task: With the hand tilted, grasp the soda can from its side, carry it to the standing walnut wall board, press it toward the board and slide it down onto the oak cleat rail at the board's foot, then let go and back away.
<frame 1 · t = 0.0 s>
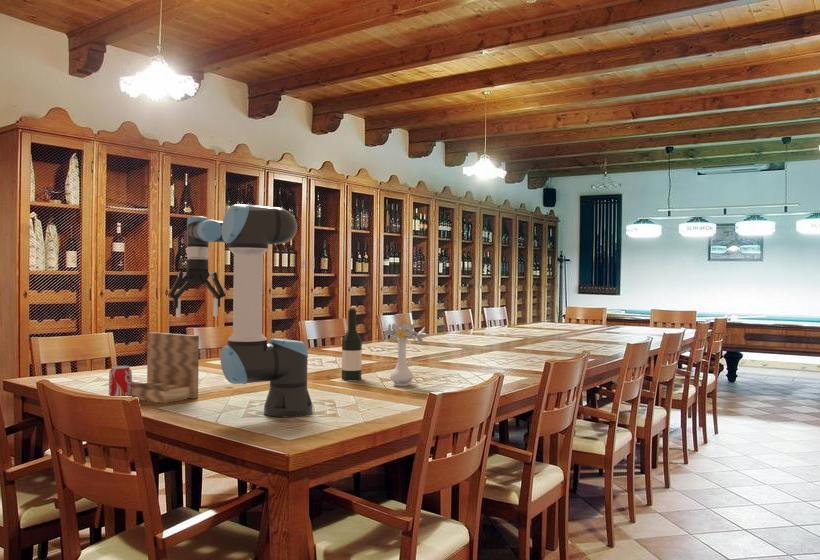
hand: (197, 316, 234), 28 cm above the table, tool pointing down, fingers open, 13 cm apart
soda can: (120, 402, 216), on the table
flower vase: (402, 385, 257), on the table
wine bottle: (351, 379, 269), on the table
cleat board: (172, 395, 229), on the table
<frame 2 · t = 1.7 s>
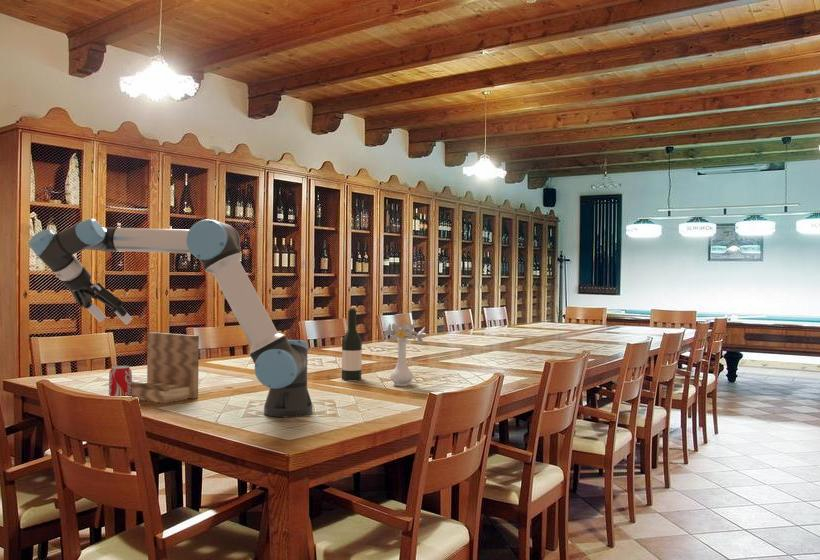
hand: (115, 320, 209), 28 cm above the table, tool tilted 45°, fingers open, 13 cm apart
nothing on the table moved.
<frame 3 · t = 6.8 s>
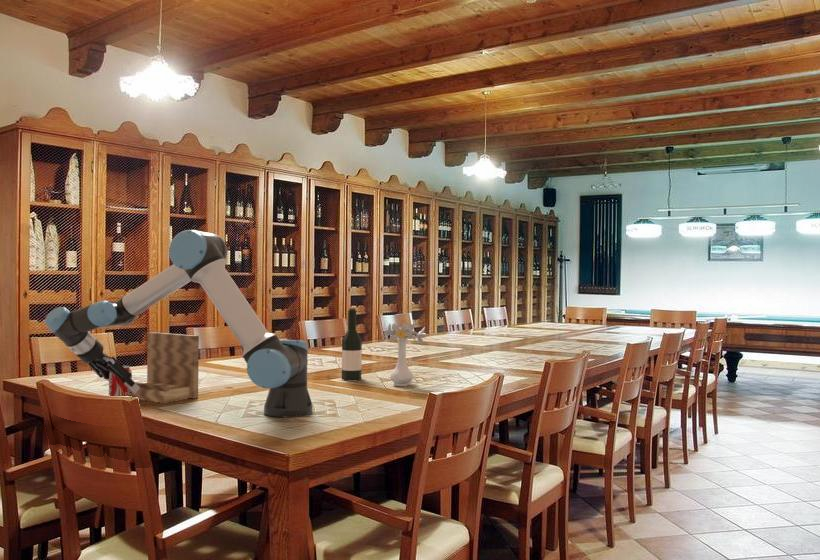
hand: (129, 389, 219), 4 cm above the table, tool tilted 45°, fingers closed on soda can, 7 cm apart
soda can: (120, 402, 216), on the table, touching gripper
everything else where it was.
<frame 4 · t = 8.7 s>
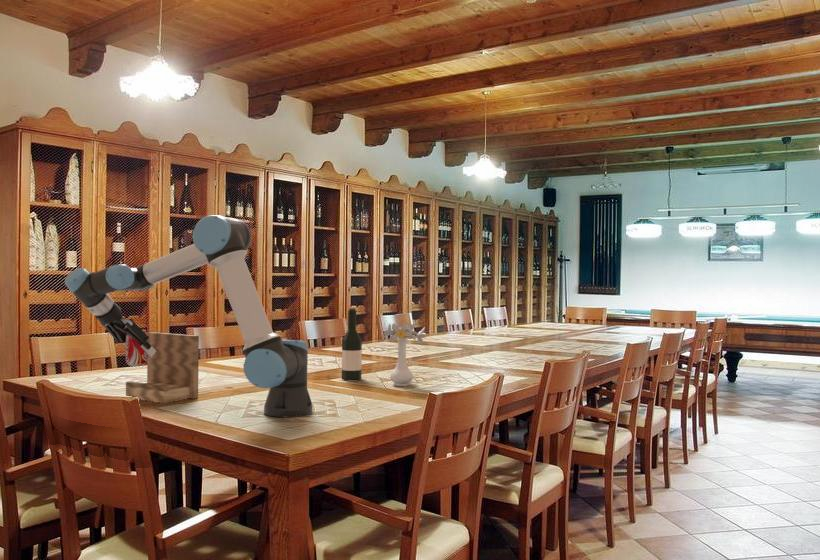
hand: (145, 353, 222), 16 cm above the table, tool tilted 45°, fingers closed on soda can, 7 cm apart
soda can: (136, 365, 219), point 12 cm above the table, touching gripper
everything else where it was.
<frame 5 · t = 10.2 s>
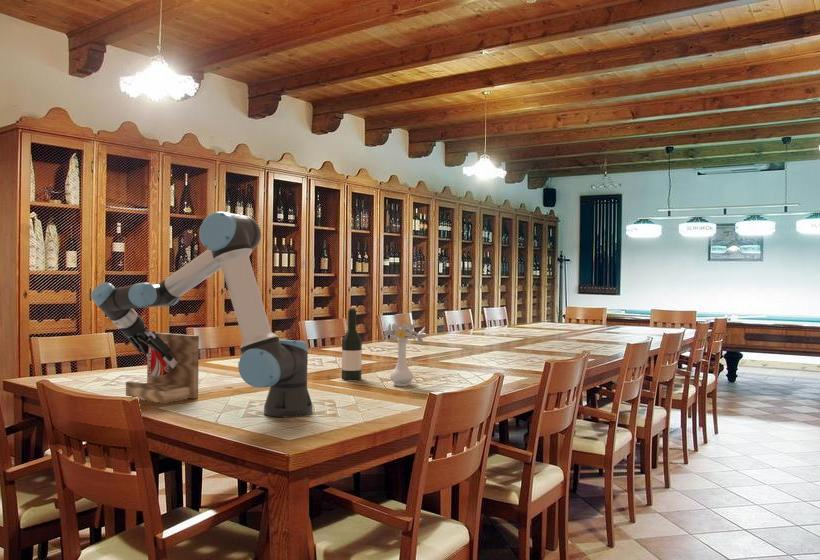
hand: (167, 364, 227), 11 cm above the table, tool tilted 45°, fingers closed on soda can, 7 cm apart
soda can: (158, 376, 224), point 7 cm above the table, touching gripper
everything else where it was.
when the fingers open (10 cm above the table, at t = 10.9 s): soda can drops 1 cm, resting on cleat board.
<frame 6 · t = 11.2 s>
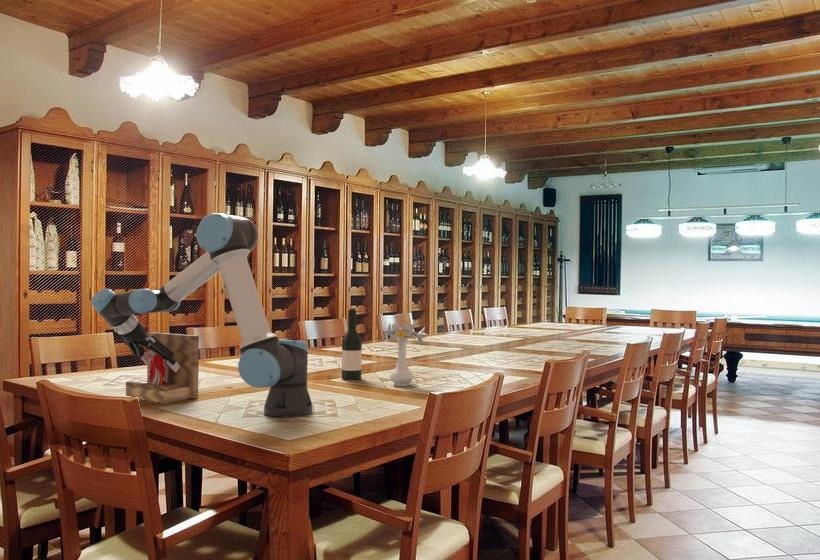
hand: (166, 367, 226), 10 cm above the table, tool tilted 45°, fingers open, 11 cm apart
soda can: (157, 386, 224), point 4 cm above the table, touching cleat board
everything else where it was.
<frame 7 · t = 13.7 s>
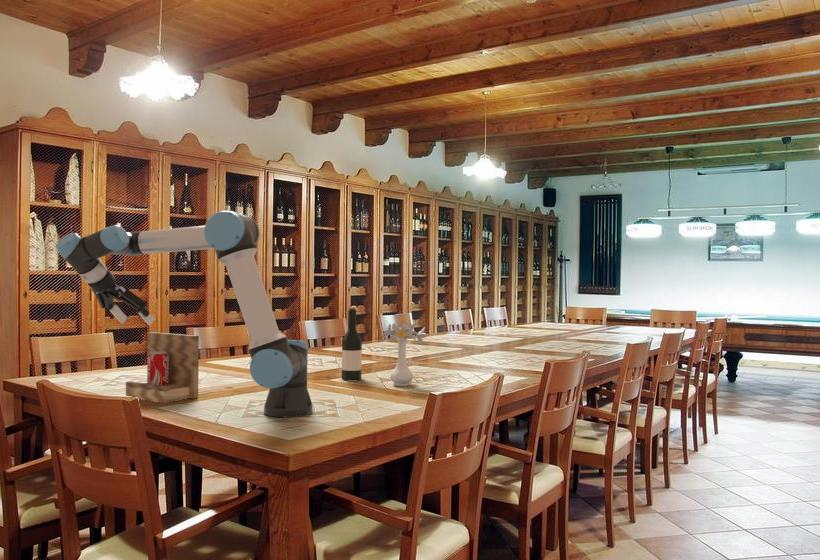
hand: (138, 321, 214), 27 cm above the table, tool tilted 45°, fingers open, 13 cm apart
nothing on the table moved.
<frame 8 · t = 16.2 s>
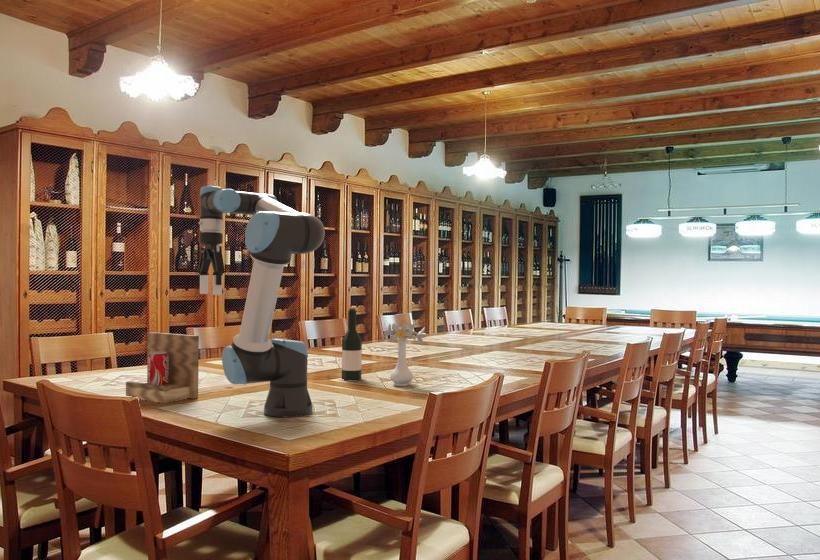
hand: (210, 294, 217), 37 cm above the table, tool pointing down, fingers open, 13 cm apart
nothing on the table moved.
at the end: soda can inside the target area (0.5 cm from its centre), point 3.8 cm above the table; soda can tilted 0°; the gripper is holding nothing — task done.
